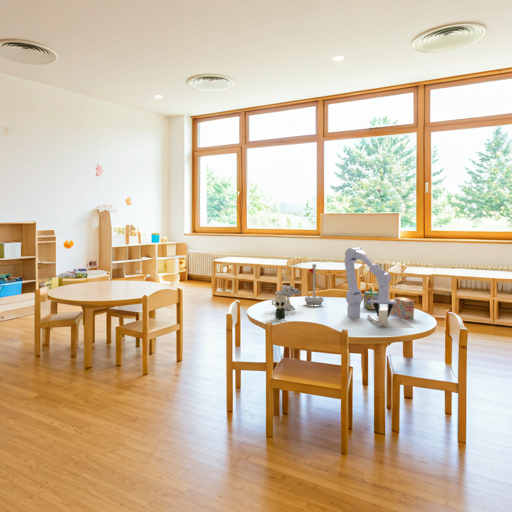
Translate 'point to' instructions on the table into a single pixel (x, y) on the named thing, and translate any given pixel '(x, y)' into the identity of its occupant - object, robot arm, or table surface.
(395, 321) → the shelf deck
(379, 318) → the cream carton
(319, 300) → the flag stand
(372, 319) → the price rail
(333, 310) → the table surface
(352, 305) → the robot arm
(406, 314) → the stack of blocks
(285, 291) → the tree
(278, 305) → the character mug
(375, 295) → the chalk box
